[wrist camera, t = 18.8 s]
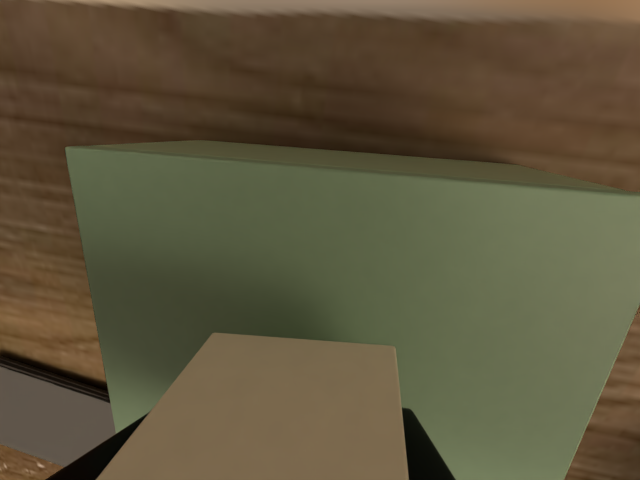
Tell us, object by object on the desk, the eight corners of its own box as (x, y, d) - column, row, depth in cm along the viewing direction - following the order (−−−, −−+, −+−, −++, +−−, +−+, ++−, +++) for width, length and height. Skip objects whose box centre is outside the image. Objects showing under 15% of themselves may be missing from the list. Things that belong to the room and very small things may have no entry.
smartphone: (-23, 358, 19) (222, 440, 18) (-5, 348, 20) (229, 426, 18) (-8, 443, 21) (208, 521, 20) (7, 431, 22) (216, 505, 21)
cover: (660, 193, 7) (687, 199, 6) (522, 534, 10) (531, 557, 10) (83, 145, 8) (62, 146, 8) (133, 452, 12) (121, 469, 11)
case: (517, 164, 12) (632, 191, 7) (459, 391, 16) (505, 529, 10) (199, 139, 14) (85, 145, 8) (210, 350, 17) (134, 451, 12)
